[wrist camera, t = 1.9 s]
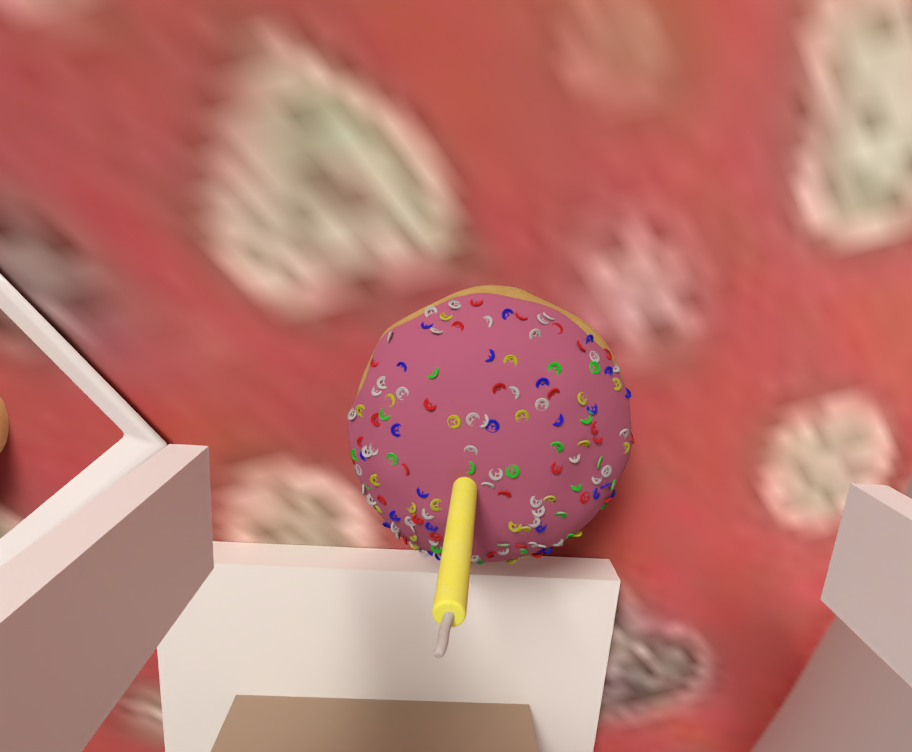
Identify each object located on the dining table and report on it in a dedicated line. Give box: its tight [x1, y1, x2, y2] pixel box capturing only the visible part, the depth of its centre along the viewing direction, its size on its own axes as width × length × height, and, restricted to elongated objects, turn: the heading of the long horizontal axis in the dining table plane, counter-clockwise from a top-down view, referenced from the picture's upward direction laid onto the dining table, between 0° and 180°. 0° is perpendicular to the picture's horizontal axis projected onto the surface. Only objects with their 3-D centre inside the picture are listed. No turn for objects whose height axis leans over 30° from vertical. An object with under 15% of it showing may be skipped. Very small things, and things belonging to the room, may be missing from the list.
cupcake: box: [348, 285, 634, 658], centre depth 15 cm, size 9×8×12 cm
